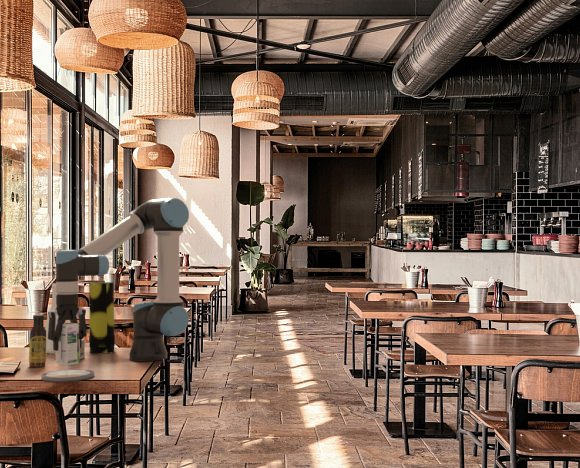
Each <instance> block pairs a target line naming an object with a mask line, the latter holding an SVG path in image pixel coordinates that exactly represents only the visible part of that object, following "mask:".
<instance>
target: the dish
mask: <svg viewBox="0 0 580 468" xmlns="http://www.w3.org/2000/svg"><path fill="white" fill-rule="evenodd" d="M94 377H95V371H94V370H89V369H63V370H53V371H48V372H44V373H42V374H41V380H42V381H44V382H50V383H51V382H52V383H67V382H68V383H69V382H77V381H78V382H79V381H85V380H88V379H89V380H90V379H91V378H92V379H93V378H94Z"/></svg>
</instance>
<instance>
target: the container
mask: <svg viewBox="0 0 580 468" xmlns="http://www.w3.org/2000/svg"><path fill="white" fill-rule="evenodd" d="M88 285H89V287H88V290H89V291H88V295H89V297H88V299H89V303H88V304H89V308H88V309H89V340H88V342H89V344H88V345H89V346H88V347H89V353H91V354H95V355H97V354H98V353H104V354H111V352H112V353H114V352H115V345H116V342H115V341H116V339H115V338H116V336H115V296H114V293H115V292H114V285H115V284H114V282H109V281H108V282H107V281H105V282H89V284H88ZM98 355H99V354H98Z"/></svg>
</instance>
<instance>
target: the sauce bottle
mask: <svg viewBox="0 0 580 468" xmlns="http://www.w3.org/2000/svg"><path fill="white" fill-rule="evenodd" d="M32 319H33V323H32V325H33V326H32V328H31V330H30V332H29V346H28V347H29V348H28V349H29V350H28V351H29V352H28V362H29V367H31V368H40V367H41V368H42V367H45V366H46V363H47V361H46V360H47V353H46V330H45V326H44V325H45V324H44V321H45V320H44V319H45V315H44V314H34V315H33V316H32Z"/></svg>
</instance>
